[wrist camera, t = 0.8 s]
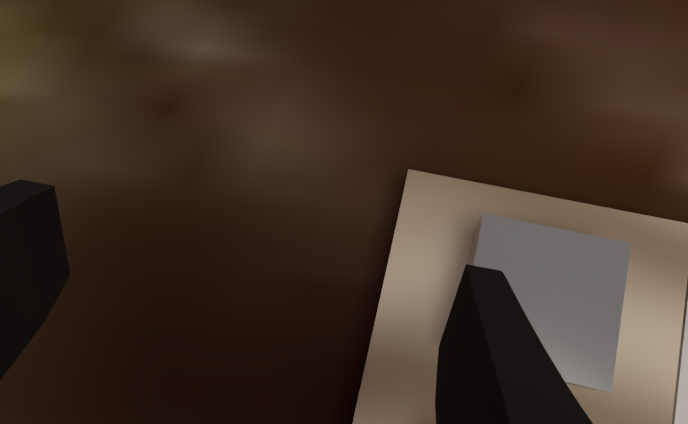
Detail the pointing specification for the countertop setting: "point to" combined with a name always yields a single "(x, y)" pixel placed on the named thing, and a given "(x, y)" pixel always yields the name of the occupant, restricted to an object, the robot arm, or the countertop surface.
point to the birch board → (445, 275)
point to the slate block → (562, 291)
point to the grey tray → (682, 374)
